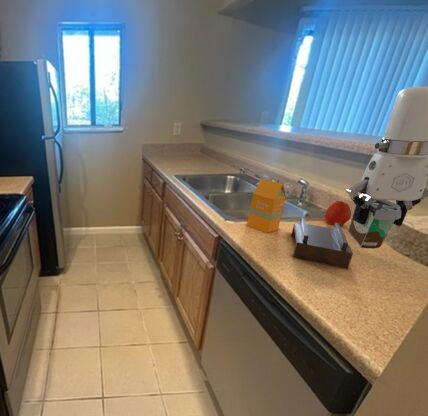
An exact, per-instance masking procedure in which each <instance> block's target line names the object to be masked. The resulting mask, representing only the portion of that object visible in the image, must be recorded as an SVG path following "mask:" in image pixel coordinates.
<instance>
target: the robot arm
mask: <svg viewBox="0 0 428 416" xmlns="http://www.w3.org/2000/svg"><path fill="white" fill-rule="evenodd" d="M374 148H375V150H377V152H375V153H374V154H373V156H372V157H371V159H370V160H369V162H368V164H367V166H366V167H365V170H364V172H363V175H362V177H361V179H360V181H359V182H358V183H356V184H354V185H352V186H351V187H349V188H347V189H346V193H347V195H348V196H349V197H350V200H351V201H352V202H353V204H354V206H356V208H355V207H354V210H355V211H354V210H353V213H354V214H353V213H352V216H353V220H354V221H356V222H358V223H359V224H365V222H366V219H367V216H368V213H369V209H368V208H367V207H368V206H369V205H370V204H371V203H372V202H373V201H374V200H375V199H376V200H387V201H395V204H397V205H399V206H400V207H401V208H400V209H401V218H400V219H396V220H395V221H394V223H393V225H395V226H397V227H402V226H403V223H404V221H405V218H406V216H407V214H408V211H411V210H413V208H414V207H415V206H416V205H418V204H420V203H421V202H422V201H423V200H425V199H426V198H428V189H427V188H426V186H427V183H428V85H425V86H424V85H423V86H410V87H405V88H403V89H401V90H400V91H399V92H398V94H397V96H396V98H395V101H394V104H393V107H392V110H391V112H390V116H389V119H388V121H387V124H386V128H385V130H384V133H383V136H382V139H381V140H380V142H376V143H375V145H374ZM359 195H360V196H359ZM367 197H368V198H367ZM366 198H367V199H366ZM365 199H366V200H365ZM364 200H365V201H364Z"/></svg>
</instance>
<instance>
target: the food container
mask: <svg viewBox="0 0 428 416" xmlns="http://www.w3.org/2000/svg"><path fill="white" fill-rule="evenodd" d="M358 195H359V196H360V195H361V194H358ZM367 198H368V197H367ZM367 198H366V199H367ZM366 199H365V200H366ZM365 200H364V201H365ZM355 208H356V205H354V210H353V213H352V215H351V220H350V224H349V227H348V230H347V233H348V234H349V235H350V237H352V239H353V240H354V241H355V243H356V244H357V245H358V247H360V248H361V249H371V250H372V249H374V250H375V249H380V248H381V247H382V246H383V243H384V241H385V240H386V238H387V237H388V234H389V233H390V230H391V228H392V226H393V225H394V224H393V223H394V221H395V220H396V219H400V218H401V209H400V208H401V207H400V206H399V205H397V204H396V202H393V201H391V200H376V199H375V200H374V201H373V202H372V203H371V204H370V205H369V206H368V207H367V208H368V209H369V213H368V216H367V219H366V222H365V224H359V223H358V222H356V221H354V220H353V214H354V211H355Z"/></svg>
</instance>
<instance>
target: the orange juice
mask: <svg viewBox="0 0 428 416" xmlns="http://www.w3.org/2000/svg"><path fill="white" fill-rule="evenodd" d="M284 185H285V184H284V183H281V182H276V181H272V180H269V179H263V178H260V180H259V182H258V184H257V186H256V187H255V189H254V191H253V192H252V197H251V202H250V207H249V212H248V217H247V222H246V225H247V226H248V227H250V228H254V229H256V230H258V231H261V232H263V233H266V234H268V233H271V232H273V231H276V230H279V227H280V222H281V218H282V215H283V210H284V206H285V202H286V198H287V196H286V191H285V186H284Z"/></svg>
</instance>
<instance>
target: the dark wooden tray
mask: <svg viewBox="0 0 428 416" xmlns="http://www.w3.org/2000/svg"><path fill="white" fill-rule="evenodd" d="M291 237H294V239H295V247H294V249H293V254H292V257H293V258H296V259H300V260H305V261H310V262H314V263H318V264H324V265H328V266H332V267H336V268H341V269H346V270H348V268H349V266H350V264H351V261H352V258H353V255H354V253H353V250H352V248H351V246H350V244H349V242H348V239H347V237H346V235H345V233H344V231H343V229H342V227H341V226H340V225H339V223H335V224H334V225H333V227H327V226H321V225H315V224H309V223H307V220H306V218H305V217H300V221H299V222H298V221H294V222H293V227H292V231H291Z"/></svg>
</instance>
